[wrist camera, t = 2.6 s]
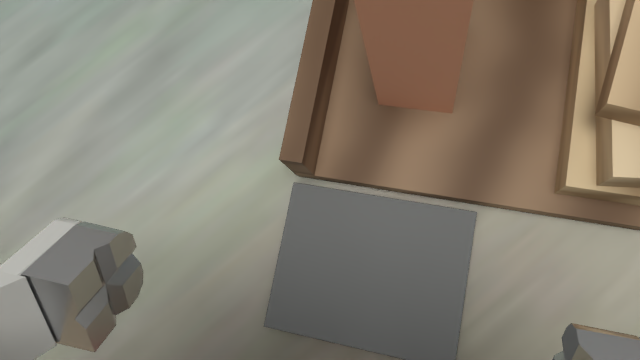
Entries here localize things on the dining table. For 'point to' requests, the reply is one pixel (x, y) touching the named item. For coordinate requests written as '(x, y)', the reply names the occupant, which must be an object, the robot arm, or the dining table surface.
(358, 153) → the brown wooden tray
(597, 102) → the offcut stack
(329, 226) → the felt mat
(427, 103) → the salmon orange upright block
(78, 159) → the dining table surface
